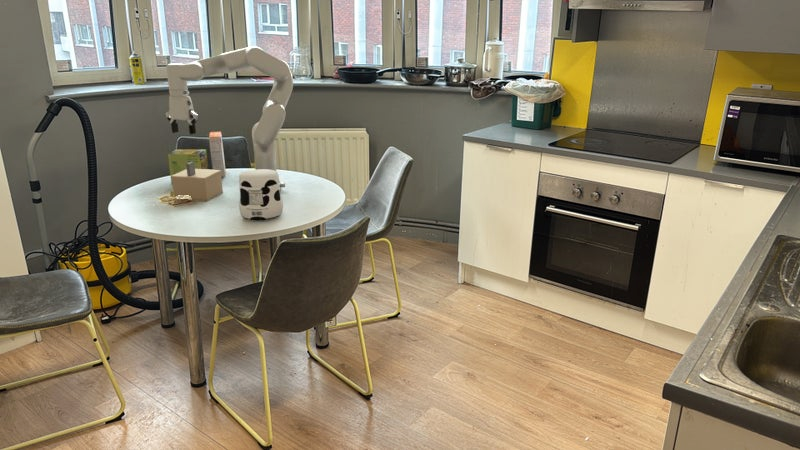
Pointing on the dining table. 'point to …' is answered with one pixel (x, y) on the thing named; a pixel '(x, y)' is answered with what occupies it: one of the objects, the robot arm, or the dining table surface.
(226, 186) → the dining table surface
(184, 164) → the protein box
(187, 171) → the lid flap
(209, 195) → the carton
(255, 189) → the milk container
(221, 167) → the cracker box
